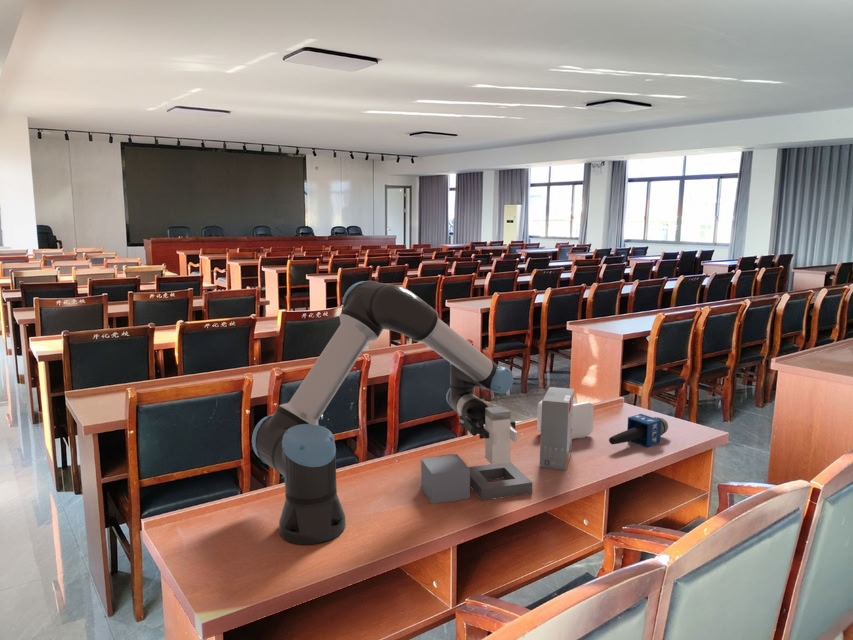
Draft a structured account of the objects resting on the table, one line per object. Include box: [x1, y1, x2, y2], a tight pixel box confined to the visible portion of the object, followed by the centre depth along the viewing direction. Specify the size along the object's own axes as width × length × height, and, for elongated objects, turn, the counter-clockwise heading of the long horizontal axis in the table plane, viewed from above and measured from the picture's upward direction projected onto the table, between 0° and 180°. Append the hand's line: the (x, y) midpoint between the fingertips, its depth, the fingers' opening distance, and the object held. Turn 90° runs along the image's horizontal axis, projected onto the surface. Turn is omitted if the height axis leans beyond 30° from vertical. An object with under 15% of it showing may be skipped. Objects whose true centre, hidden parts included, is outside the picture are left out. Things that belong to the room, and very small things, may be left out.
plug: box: [484, 405, 512, 465], centre depth 161 cm, size 5×5×14 cm
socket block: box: [468, 461, 533, 501], centre depth 163 cm, size 14×14×3 cm
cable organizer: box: [536, 396, 594, 440], centre depth 199 cm, size 15×11×12 cm
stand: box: [420, 453, 471, 505], centre depth 159 cm, size 10×10×8 cm
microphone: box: [608, 413, 669, 449], centre depth 191 cm, size 8×8×25 cm
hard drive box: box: [538, 386, 575, 471], centre depth 179 cm, size 16×8×20 cm, turn 161°
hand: (505, 438), depth 156 cm, fingers closed on plug, 5 cm apart
